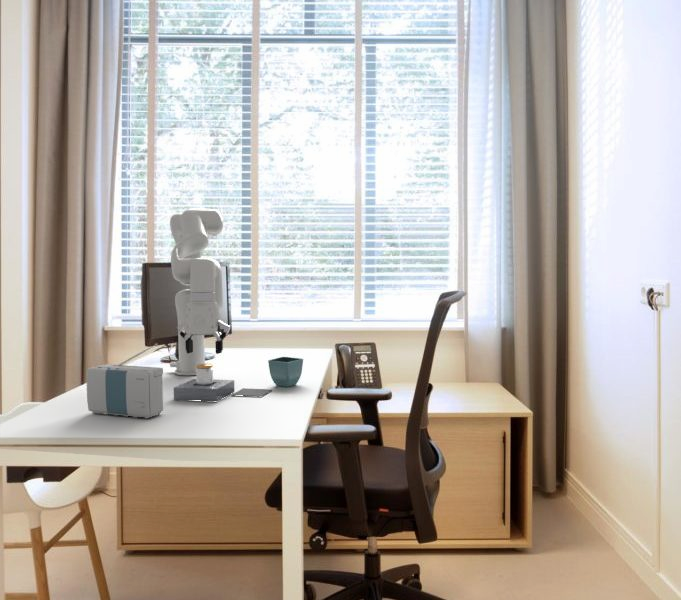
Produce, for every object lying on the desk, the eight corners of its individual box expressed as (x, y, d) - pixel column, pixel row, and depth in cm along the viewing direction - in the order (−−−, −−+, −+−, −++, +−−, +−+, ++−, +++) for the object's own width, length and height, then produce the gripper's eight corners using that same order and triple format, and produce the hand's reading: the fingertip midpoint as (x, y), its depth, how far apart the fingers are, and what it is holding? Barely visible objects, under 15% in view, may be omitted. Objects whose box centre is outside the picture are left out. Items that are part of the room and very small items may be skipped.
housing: (173, 400, 190) (173, 387, 190) (194, 390, 204) (193, 378, 203) (216, 402, 187) (216, 389, 187) (234, 392, 201) (234, 380, 200)
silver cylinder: (194, 397, 194) (193, 366, 193) (201, 394, 198) (200, 363, 198) (209, 398, 192) (208, 366, 192) (215, 395, 197) (215, 363, 197)
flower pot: (288, 389, 206) (288, 362, 205) (267, 386, 210) (267, 360, 210) (304, 384, 213) (303, 358, 212) (283, 382, 218) (283, 356, 217)
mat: (231, 396, 196) (231, 394, 196) (243, 389, 205) (243, 388, 205) (261, 397, 194) (261, 396, 194) (272, 390, 203) (272, 389, 203)
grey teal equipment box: (86, 414, 173) (83, 343, 172) (107, 408, 181) (105, 339, 180) (148, 421, 166) (146, 346, 165) (167, 414, 174) (165, 342, 172)
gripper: (171, 298, 191) (172, 354, 192) (224, 298, 188) (225, 355, 188) (182, 297, 199) (184, 351, 199) (233, 297, 195) (235, 351, 196)
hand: (204, 353), depth 194 cm, fingers open, 9 cm apart
